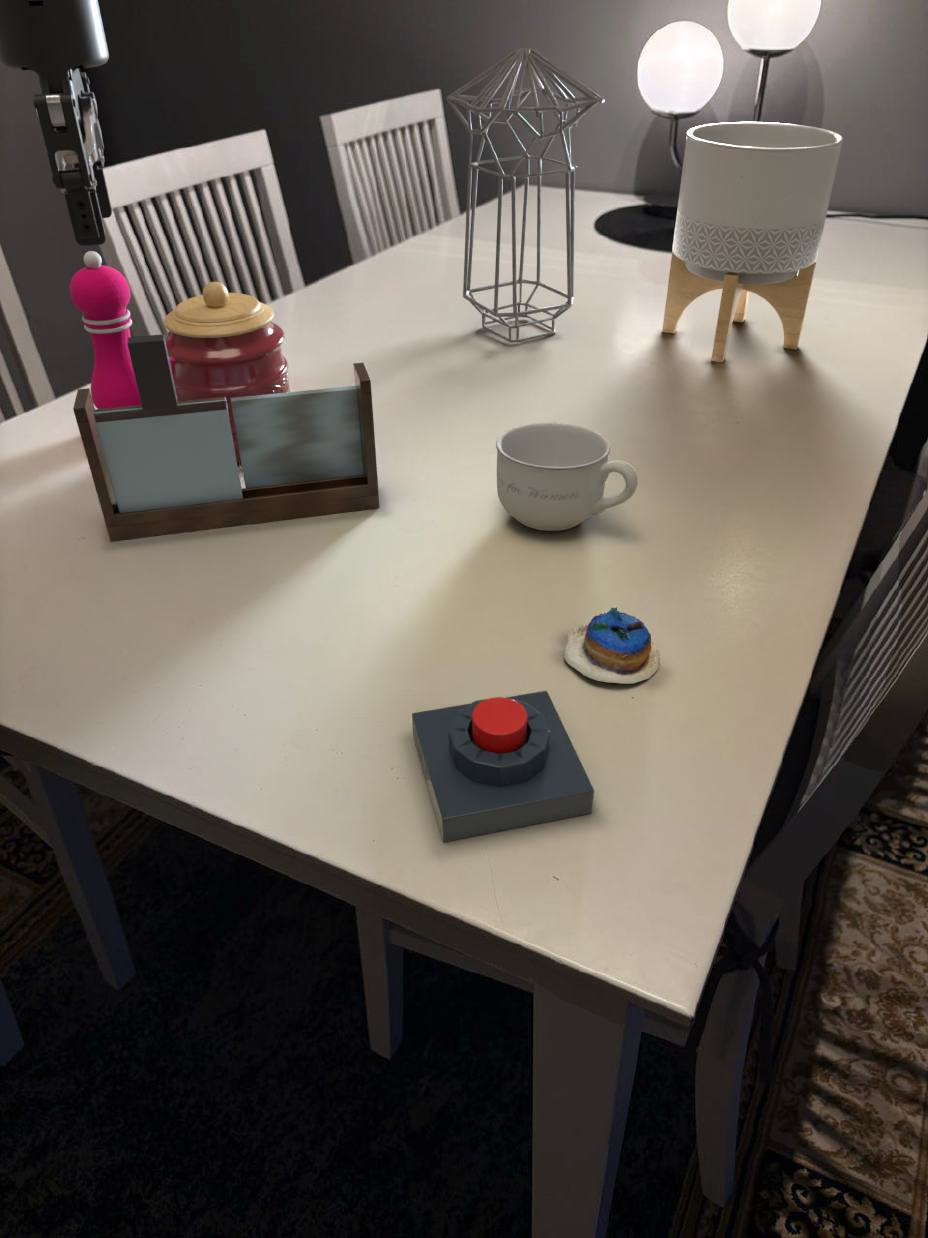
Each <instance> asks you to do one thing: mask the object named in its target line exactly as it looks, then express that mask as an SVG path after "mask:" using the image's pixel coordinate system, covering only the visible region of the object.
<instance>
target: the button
mask: <svg viewBox="0 0 928 1238" xmlns="http://www.w3.org/2000/svg"><path fill="white" fill-rule="evenodd" d="M485 699H486V700H484V701H482V702H480V703H479V704H478V705H477V706H476V707H475V708H474V710H473V713H472V737H473V740H474V742H475V743H476V744H477V745H478V746H479V747H480V748H481V749H483V750H485V751H488V752H493V753H498V754H502V753H508V752H512V751H514V750H516V749H518V748H519V747H521V746H522V744H523V743H524V742H525V739H526V732H527V713H526V710H525V709H524V707H523V706H522V705H521V704H519V703H518V702H516V701H514V700H512V699H509V698H506V697H503V696H497V697H490V698H489V697H488V698H485Z"/></svg>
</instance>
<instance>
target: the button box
mask: <svg viewBox="0 0 928 1238" xmlns="http://www.w3.org/2000/svg"><path fill="white" fill-rule="evenodd" d="M505 698H509V699H512V700H514V701H516V702H518V703H519V704H521V705H522V706H523V707H524V709H525V710H526V713H527V732H526V739H525V742H524V743H523V744H522V746H521V747H519V748H518V749H516V750H514V751H512V752H508V753H502V754H498V753H493V752H488V751H485V750H483V749H481V748H480V747H479V746H478V745H477V744H476V743H475V742H474V740H473V737H472V713H473V710H474V708H475V707H476V706H477V705H478V704H479V703H480V702H482V701H484V700H486V699H487V698H484V699H478V700H475V701H473V702H471V703H464V704H458V705H453V706H452V705H451V706H447V707H441V708H435V709H428V710H422V711H416V712H412V713H411V717H412V718H411V722H412V737H413V741H414V743H415V746H416V751H417V755H418V757H419V761H420V765H421V768H422V772H423V775H424V779H425V782H426V786H427V790H428V793H429V796H430V801H431V804H432V807H433V811H434V815H435V818H436V822H437V825H438V829H439V832H440V836H441V839H442V842H444V843H445V842H451V841H455V840H461V839H467V838H471V837H476V836H477V837H478V836H481V835H487V834H491V833H496V832H497V833H498V832H502V831H507V830H513V829H517V828H522V827H527V826H532V825H539V824H543V823H547V822H552V821H553V822H554V821H558V820H564V819H569V818H574V817H578V816H583V815H588V814H591V813H593V805H594V795H595V789H594V787H593V785H592V783H591V781H590V779H589V777H588V775H587V772H586V770H585V768H584V766H583V764H582V762H581V760H580V758H579V755H578V753H577V751H576V749H575V747H574V745H573V743H572V741H571V739H570V737H569V734H568V732H567V730H566V729H565V726H564V724H563V722H562V720H561V718H560V715H559V713H558V711H557V709H556V707H555V705H554V703H553V701H552V699H551V696H550V694H549V692H548V691H547V690H541V691H537V692H530V693H524V694H519V695H513V696H507V697H505Z"/></svg>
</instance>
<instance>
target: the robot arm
mask: <svg viewBox="0 0 928 1238" xmlns="http://www.w3.org/2000/svg"><path fill="white" fill-rule="evenodd" d="M109 59H110V54H109V48H108V42H107V39H106V33H105V29H104V24H103V18H102V14H101V9H100V4H99V0H0V61H1V63H2V64H3V66H5V67H6V68H8V69H11V70H17V71H33V72H34V73H36V75H37V76H38V78H39V79H38V80H39V81H38V82H39V87H40V92H41V93H38V94H37V93H35V94H34V95H33V97H34V98H33V102H32V103H33V106H34V109H35V112H36V116H37V118H38V120H39V125H40V128H41V133H42V137H43V141H44V147H45V151H46V154H47V157H48V161H49V165H50V170H51V173H52V176H51V180H52V184H54V186H55V188H56V190H59V191H60V192H61V193H62V194H64V199H65V203H66V207H67V210H68V215H69V219H70V223H71V227H72V231H73V234H74V239H75V242H76V243H77V244H78V245H79V246H84V247H86V246H99V245H103V244H105V242H106V239H107V234H106V233H107V232H106V230H105V229H106V228H105V224H104V221H103V219H108V218H110V217H112V213H113V209H112V207H113V206H112V204H111V203H112V202H111V199H110V194H109V189H108V186H107V181H106V176H105V172H104V171H105V170H104V167H105V162H106V160H105V155H104V150H105V145H104V141H103V133H102V129H101V125H100V121H99V112H98V104H97V103H98V102H97V100H96V96H95V93H94V92H93V91H91V89H90V79H89V77H88V76H87V73H86V72H84V71H83V72H82V71H80V69H89V68H95V67H101V66H103V65H105V64H106V63H108V61H109ZM70 164H71V166H72V169H66V166H67V165H70Z"/></svg>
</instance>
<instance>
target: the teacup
mask: <svg viewBox="0 0 928 1238" xmlns="http://www.w3.org/2000/svg"><path fill="white" fill-rule="evenodd" d="M495 448H496V492H497V497H498V500H499V503H500V505H501V507H502V508H503V509H504V510H505V511H506V512H507V513H508V514H509V515H510V516H512V517H513V518H514V519H515V520H516V521H517V522H518V523H520V524H522V525H524V526H526V527H528V528H531V529H533V530H534V529H535V530H538V531H545V532H558V531H567V530H569V529H572V528H574V527H577V526H578V525H580V524H582V522H584V521H586V520H588V519H589V518H591V517H592V516H593V515H601V514H602V513H604V512H605V510H606V509H609V508H613V507H617V506H619V505H621V504H624V503H626V502H627V501H628V500H630V499H631V498H632V497H633V496H634V494H635V493H636V490H637V488H638V484H639V482H638V481H639V480H638V475H637V472H636V470H635V468H634V467H633V466H632V465H631V464H630V463H628V462H627V461H624V460H620V459H613V460H609V456H610V452H611V444H610V442H609V440H608V439H607V438H606V437H605V436H603V435H602V434H600V433H599V432H597V431H595V430H593V429H590V428H587V427H584V426H580V425H575V424H570V423H564V422H563V423H562V422H561V423H560V422H535V423H528V424H527V423H526V424H523V425H519V426H516V427H512V428H511V429H507V430H505V431H504V432H502V433H501V434H500V435H499V436H498V438H497V439H496V441H495ZM611 473H617V474H619V475H621V476H622V478H623V479H624V483H625V487H624V489H623V490H622V491H621V492H619V493H618V494H616V495H612V496H605V497H604V493H605V488H606V482H607V480H608V477H609V476H610V474H611Z"/></svg>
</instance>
